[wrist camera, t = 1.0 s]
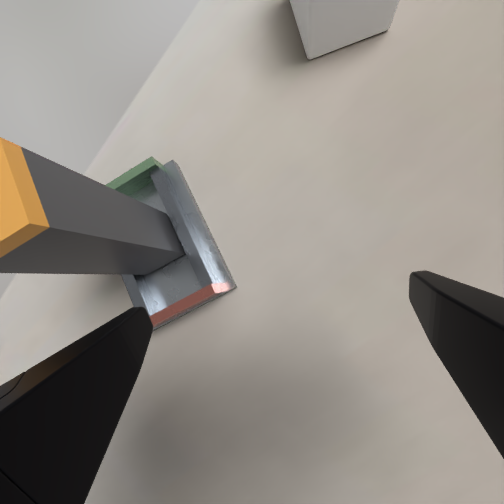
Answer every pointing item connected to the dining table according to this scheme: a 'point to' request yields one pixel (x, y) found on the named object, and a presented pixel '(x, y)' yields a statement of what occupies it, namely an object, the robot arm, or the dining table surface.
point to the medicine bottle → (340, 22)
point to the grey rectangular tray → (190, 236)
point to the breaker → (75, 222)
